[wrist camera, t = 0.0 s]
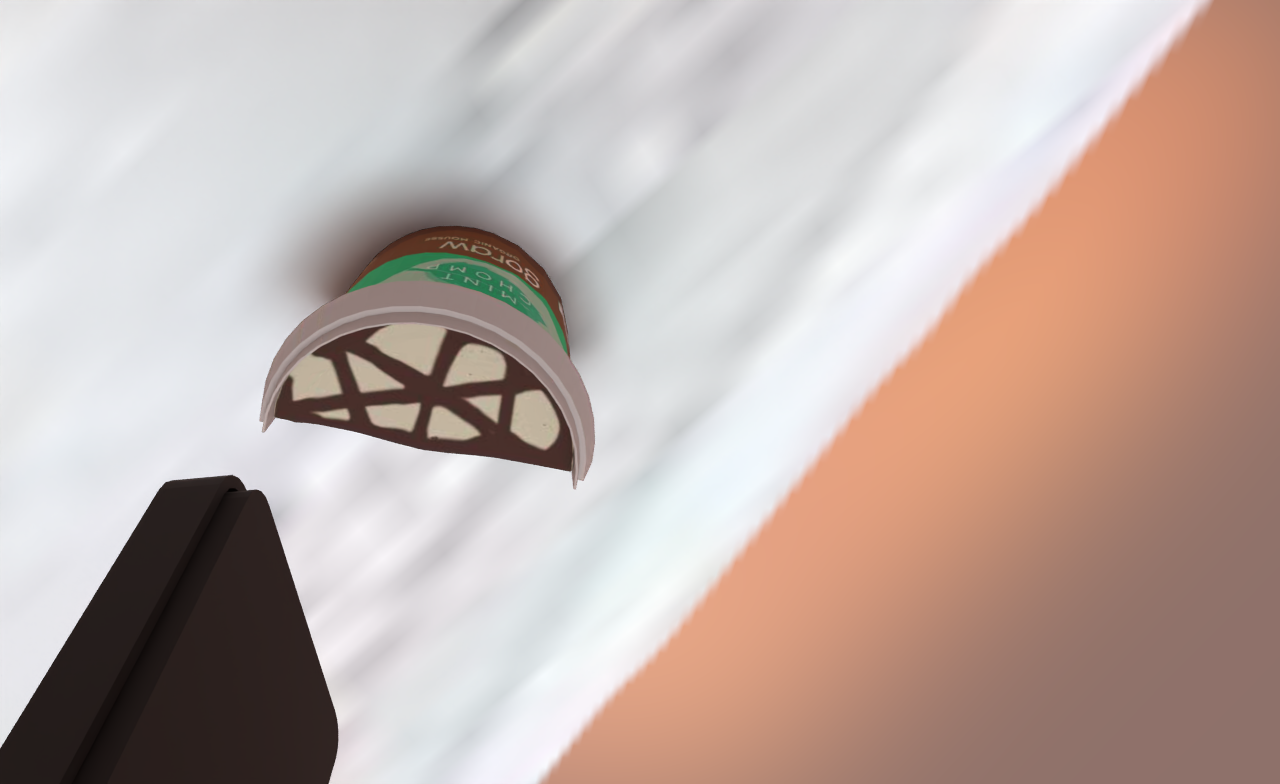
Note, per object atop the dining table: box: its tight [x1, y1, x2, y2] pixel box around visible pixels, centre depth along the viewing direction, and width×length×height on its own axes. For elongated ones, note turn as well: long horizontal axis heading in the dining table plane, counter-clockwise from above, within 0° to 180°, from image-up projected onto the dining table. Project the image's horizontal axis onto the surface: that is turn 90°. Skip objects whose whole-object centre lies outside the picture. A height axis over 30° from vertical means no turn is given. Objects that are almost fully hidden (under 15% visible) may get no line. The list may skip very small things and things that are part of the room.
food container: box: [260, 226, 595, 489], centre depth 45 cm, size 12×6×10 cm, turn 77°
